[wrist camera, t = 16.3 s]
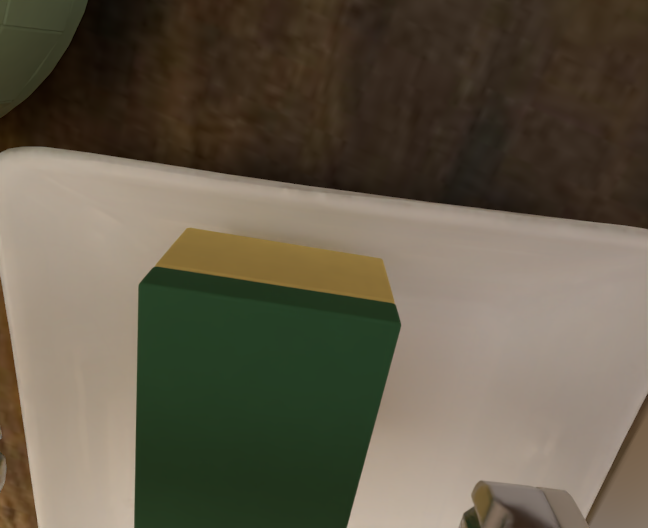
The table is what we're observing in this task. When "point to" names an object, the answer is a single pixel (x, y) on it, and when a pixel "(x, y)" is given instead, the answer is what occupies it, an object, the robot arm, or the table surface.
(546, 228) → the tray
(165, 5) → the table surface
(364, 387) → the sponge
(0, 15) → the bowl
